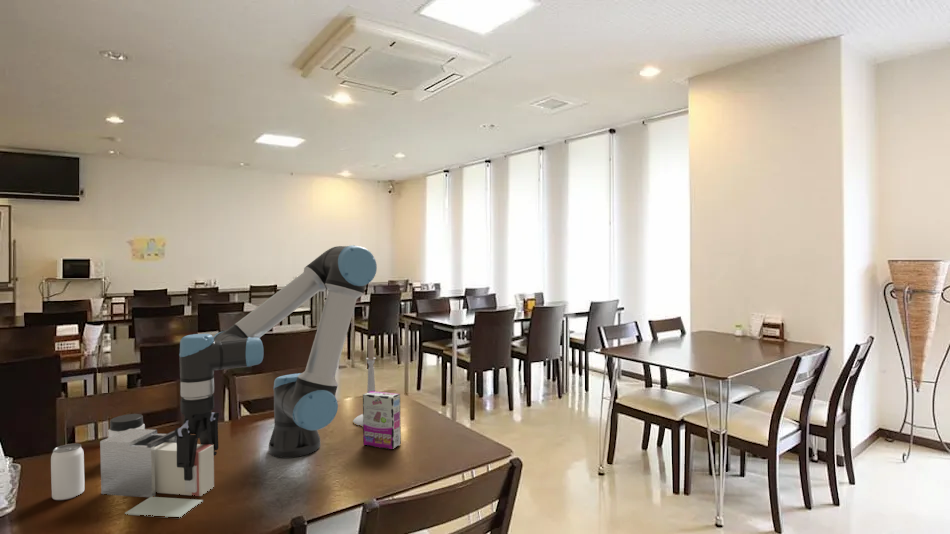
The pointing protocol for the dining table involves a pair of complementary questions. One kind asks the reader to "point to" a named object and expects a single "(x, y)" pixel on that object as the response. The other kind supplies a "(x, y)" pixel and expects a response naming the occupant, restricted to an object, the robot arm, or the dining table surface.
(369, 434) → the candy bar box
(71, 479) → the can
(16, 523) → the dining table surface
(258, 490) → the dining table surface
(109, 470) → the dispenser
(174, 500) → the pad
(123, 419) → the jar
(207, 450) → the pink-banded white block
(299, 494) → the dining table surface
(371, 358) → the candlestick
